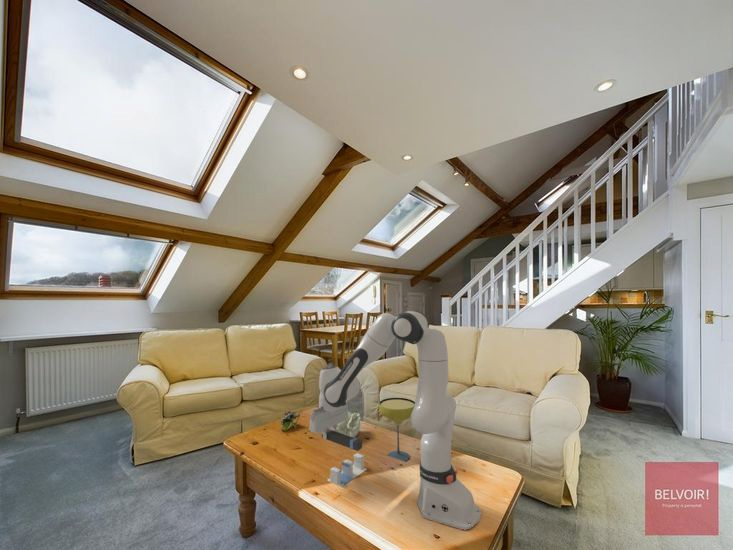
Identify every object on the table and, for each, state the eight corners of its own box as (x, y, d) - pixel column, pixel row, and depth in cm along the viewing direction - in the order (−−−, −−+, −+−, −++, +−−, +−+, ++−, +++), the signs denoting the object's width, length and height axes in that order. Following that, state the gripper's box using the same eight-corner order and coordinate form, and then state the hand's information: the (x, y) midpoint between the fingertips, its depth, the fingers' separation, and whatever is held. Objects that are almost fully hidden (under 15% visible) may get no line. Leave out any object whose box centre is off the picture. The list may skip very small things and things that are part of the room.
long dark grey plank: (362, 448, 133) (362, 440, 133) (357, 451, 130) (357, 442, 131) (327, 435, 145) (327, 428, 146) (321, 438, 143) (321, 430, 143)
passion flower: (287, 435, 196) (293, 414, 203) (300, 436, 190) (306, 414, 198) (274, 429, 189) (281, 408, 197) (287, 430, 184) (293, 408, 191)
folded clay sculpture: (351, 453, 175) (350, 433, 169) (332, 442, 182) (330, 422, 175) (369, 429, 189) (369, 409, 182) (350, 419, 195) (350, 400, 189)
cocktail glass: (405, 445, 170) (404, 395, 171) (425, 461, 153) (423, 406, 155) (373, 452, 162) (372, 400, 164) (390, 469, 146) (389, 412, 147)
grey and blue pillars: (368, 472, 144) (367, 457, 144) (341, 491, 130) (341, 473, 131) (353, 466, 149) (353, 451, 149) (326, 483, 136) (326, 467, 136)
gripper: (316, 412, 133) (316, 447, 132) (350, 399, 149) (350, 431, 148) (306, 409, 137) (306, 443, 136) (339, 397, 153) (340, 427, 152)
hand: (329, 436), depth 142 cm, fingers closed on long dark grey plank, 3 cm apart
